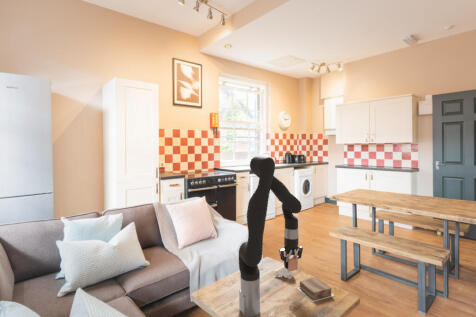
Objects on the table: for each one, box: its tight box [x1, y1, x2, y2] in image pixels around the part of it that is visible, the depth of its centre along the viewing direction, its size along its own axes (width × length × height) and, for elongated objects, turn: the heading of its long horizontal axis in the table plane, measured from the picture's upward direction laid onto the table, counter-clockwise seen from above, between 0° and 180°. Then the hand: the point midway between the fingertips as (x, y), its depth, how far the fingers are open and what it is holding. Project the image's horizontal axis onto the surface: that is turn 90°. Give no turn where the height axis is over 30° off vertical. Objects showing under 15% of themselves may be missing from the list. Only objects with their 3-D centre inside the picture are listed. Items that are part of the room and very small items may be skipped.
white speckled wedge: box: [273, 264, 294, 280], centre depth 157 cm, size 6×8×12 cm
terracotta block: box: [287, 255, 299, 272], centre depth 141 cm, size 5×5×6 cm
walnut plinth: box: [299, 277, 332, 300], centre depth 140 cm, size 11×12×4 cm
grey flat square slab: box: [296, 286, 335, 303], centre depth 140 cm, size 14×14×1 cm
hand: (290, 266), depth 141 cm, fingers closed on terracotta block, 5 cm apart
